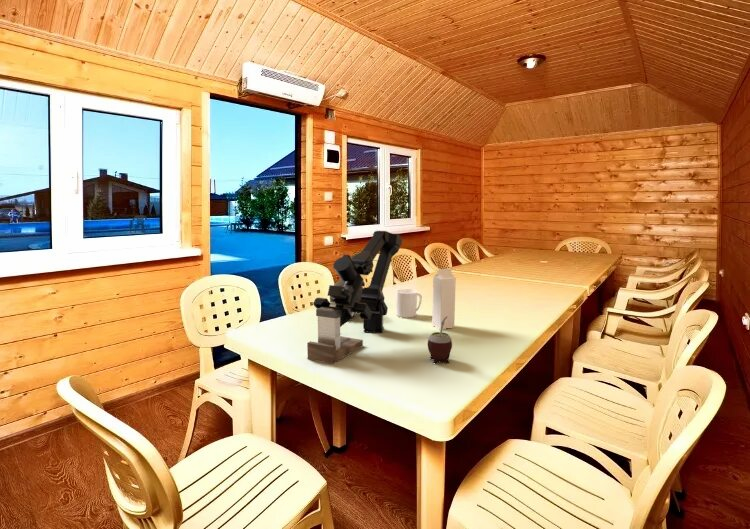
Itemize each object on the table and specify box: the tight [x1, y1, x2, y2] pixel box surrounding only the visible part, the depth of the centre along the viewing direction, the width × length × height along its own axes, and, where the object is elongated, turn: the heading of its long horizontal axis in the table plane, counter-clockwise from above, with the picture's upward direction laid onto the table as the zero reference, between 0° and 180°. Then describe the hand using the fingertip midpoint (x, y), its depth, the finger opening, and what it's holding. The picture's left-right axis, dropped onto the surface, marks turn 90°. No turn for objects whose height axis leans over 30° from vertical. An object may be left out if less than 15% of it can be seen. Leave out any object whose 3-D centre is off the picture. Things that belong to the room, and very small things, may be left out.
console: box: [307, 335, 364, 365], centre depth 135 cm, size 18×9×5 cm, turn 153°
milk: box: [431, 268, 457, 330], centre depth 161 cm, size 6×6×22 cm
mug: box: [394, 288, 423, 319], centre depth 178 cm, size 11×9×10 cm
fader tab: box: [315, 307, 341, 350], centre depth 131 cm, size 3×7×12 cm, turn 63°
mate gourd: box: [427, 316, 453, 364], centre depth 127 cm, size 8×8×15 cm
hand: (332, 331), depth 133 cm, fingers closed, pressing on fader tab
